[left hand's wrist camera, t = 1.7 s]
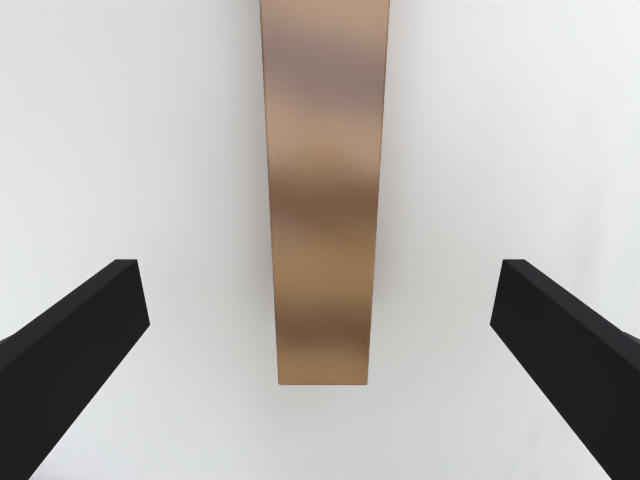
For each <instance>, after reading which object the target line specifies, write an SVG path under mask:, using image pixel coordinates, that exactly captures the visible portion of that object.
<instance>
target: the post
mask: <svg viewBox="0 0 640 480" xmlns="http://www.w3.org/2000/svg"><path fill="white" fill-rule="evenodd" d="M389 6H390V0H260V19H261V39H262V59H263V80H264V100H265V121H266V141H267V161H268V182H269V202H270V222H271V243H272V263H273V283H274V304H275V324H276V344H277V365H278V383H279V385H367V380H368V363H369V346H370V329H371V312H372V295H373V278H374V261H375V244H376V227H377V210H378V193H379V176H380V159H381V142H382V125H383V108H384V91H385V74H386V57H387V40H388V23H389Z"/></svg>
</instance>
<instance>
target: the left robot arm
mask: <svg viewBox="0 0 640 480" xmlns="http://www.w3.org/2000/svg"><path fill="white" fill-rule="evenodd" d="M149 326H150V322H149V317H148V312H147V307H146V302H145V297H144V292H143V287H142V282H141V277H140V272H139V267H138V262H137V259H116V260H114V261H113V262H111V263H110V264H109V265H107V266H106V267H105V268H103V269H102V270H101V271H99V272H98V273H97V274H95V275H94V276H92V277H91V278H90V279H88V280H87V281H86V282H84V283H83V284H82V285H80V286H79V287H77V288H76V289H75V290H73V291H72V292H71V293H69V294H68V295H67V296H65V297H64V298H63V299H61V300H60V301H58V302H57V303H56V304H54V305H53V306H52V307H50V308H49V309H48V310H46V311H45V312H43V313H42V314H41V315H39V316H38V317H37V318H35V319H34V320H33V321H31V322H30V323H28V324H27V325H26V326H24V327H23V328H22V329H20V330H19V331H18V332H16V333H15V334H13V335H11V336H9V337H7V338H5V339H3V340H1V341H0V480H28V479H29V478H30V477H31V475H32V474H33V473H34V472H35V470H36V469H37V468H38V467H39V465H40V464H41V463H42V462H43V460H44V459H45V458H46V456H47V455H48V454H49V453H50V451H51V450H52V449H53V448H54V446H55V445H56V444H57V442H58V441H59V440H60V439H61V437H62V436H63V435H64V434H65V432H66V431H67V430H68V429H69V427H70V426H71V425H72V423H73V422H74V421H75V420H76V418H77V417H78V416H79V415H80V413H81V412H82V411H83V409H84V408H85V407H86V406H87V404H88V403H89V402H90V401H91V399H92V398H93V397H94V396H95V394H96V393H97V392H98V390H99V389H100V388H101V387H102V385H103V384H104V383H105V382H106V380H107V379H108V378H109V376H110V375H111V374H112V373H113V371H114V370H115V369H116V368H117V366H118V365H119V364H120V362H121V361H122V360H123V359H124V357H125V356H126V355H127V354H128V352H129V351H130V350H131V349H132V347H133V346H134V345H135V343H136V342H137V341H138V340H139V338H140V337H141V336H142V335H143V333H144V332H145V331H146V329H147V328H148V327H149ZM490 326H491V327H492V328H493V329H494V331H495V332H496V333H497V335H498V336H499V337H500V338H501V340H502V341H503V342H504V343H505V345H506V346H507V347H508V349H509V350H510V351H511V352H512V354H513V355H514V356H515V357H516V359H517V360H518V361H519V362H520V364H521V365H522V366H523V368H524V369H525V370H526V371H527V373H528V374H529V375H530V376H531V378H532V379H533V380H534V382H535V383H536V384H537V385H538V387H539V388H540V389H541V390H542V392H543V393H544V394H545V396H546V397H547V398H548V399H549V401H550V402H551V403H552V404H553V406H554V407H555V408H556V409H557V411H558V412H559V413H560V415H561V416H562V417H563V418H564V420H565V421H566V422H567V423H568V425H569V426H570V427H571V429H572V430H573V431H574V432H575V434H576V435H577V436H578V437H579V439H580V440H581V441H582V442H583V444H584V445H585V446H586V448H587V449H588V450H589V451H590V453H591V454H592V455H593V456H594V458H595V459H596V460H597V462H598V463H599V464H600V465H601V467H602V468H603V469H604V470H605V472H606V473H607V474H608V475H609V477H610V478H611V479H612V480H640V339H638V338H636V337H634V336H632V335H630V334H628V333H626V332H622V331H621V330H620V329H618V328H617V327H616V326H614V325H613V324H612V323H610V322H609V321H607V320H606V319H605V318H603V317H602V316H601V315H599V314H598V313H597V312H595V311H594V310H592V309H591V308H590V307H588V306H587V305H586V304H584V303H583V302H582V301H580V300H579V299H577V298H576V297H575V296H573V295H572V294H571V293H569V292H568V291H567V290H565V289H564V288H563V287H561V286H560V285H558V284H557V283H556V282H554V281H553V280H552V279H550V278H549V277H548V276H546V275H545V274H543V273H542V272H541V271H539V270H538V269H537V268H535V267H534V266H533V265H531V264H530V263H529V262H527V261H526V260H524V259H503V262H502V267H501V272H500V277H499V282H498V287H497V292H496V297H495V302H494V307H493V312H492V317H491V322H490Z"/></svg>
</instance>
